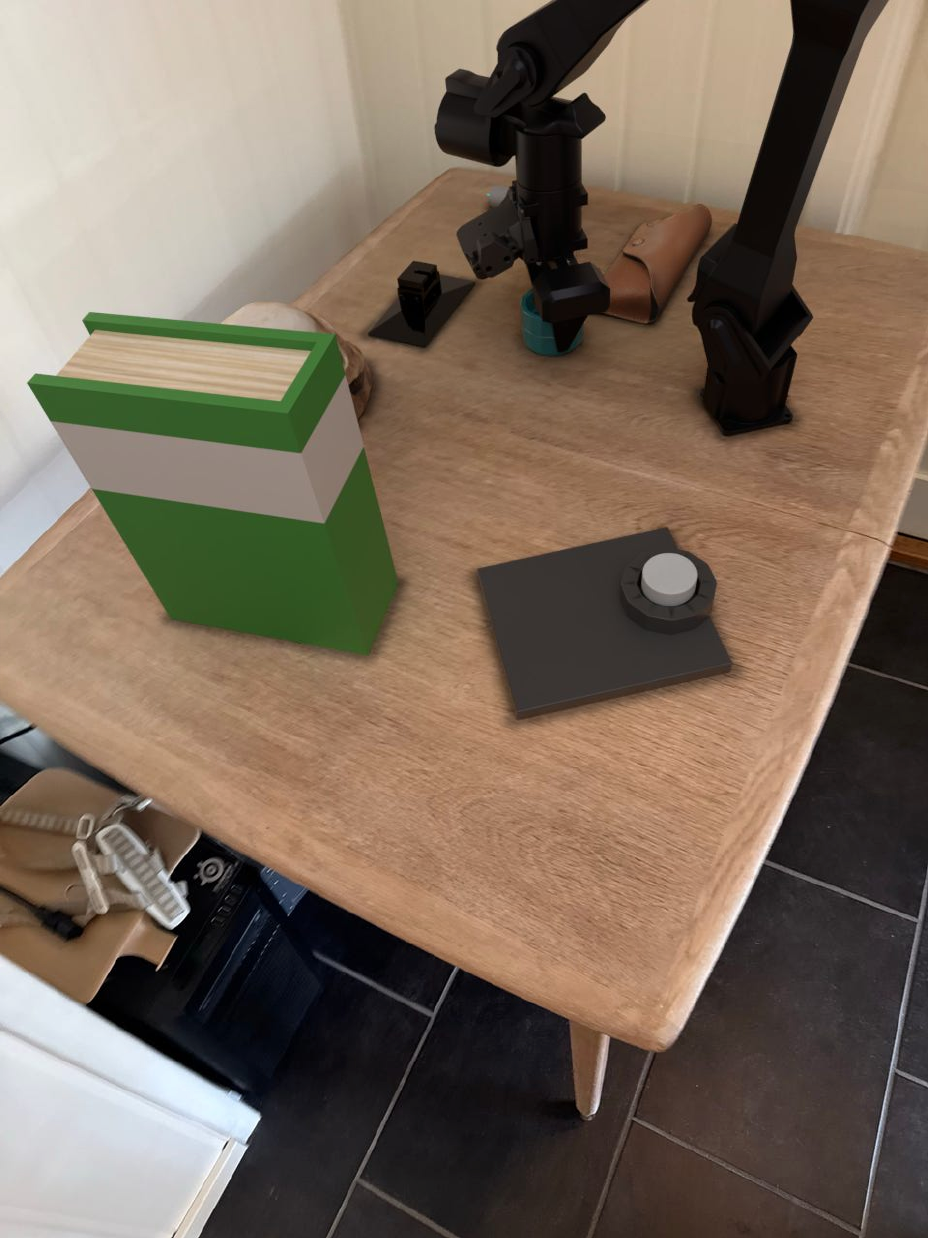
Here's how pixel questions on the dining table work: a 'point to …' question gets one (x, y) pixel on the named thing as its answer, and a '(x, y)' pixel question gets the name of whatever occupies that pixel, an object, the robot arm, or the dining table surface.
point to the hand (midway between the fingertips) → (552, 329)
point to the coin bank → (300, 320)
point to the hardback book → (230, 473)
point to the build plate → (421, 305)
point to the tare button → (669, 579)
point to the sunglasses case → (655, 264)
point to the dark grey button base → (597, 625)
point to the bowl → (540, 330)
